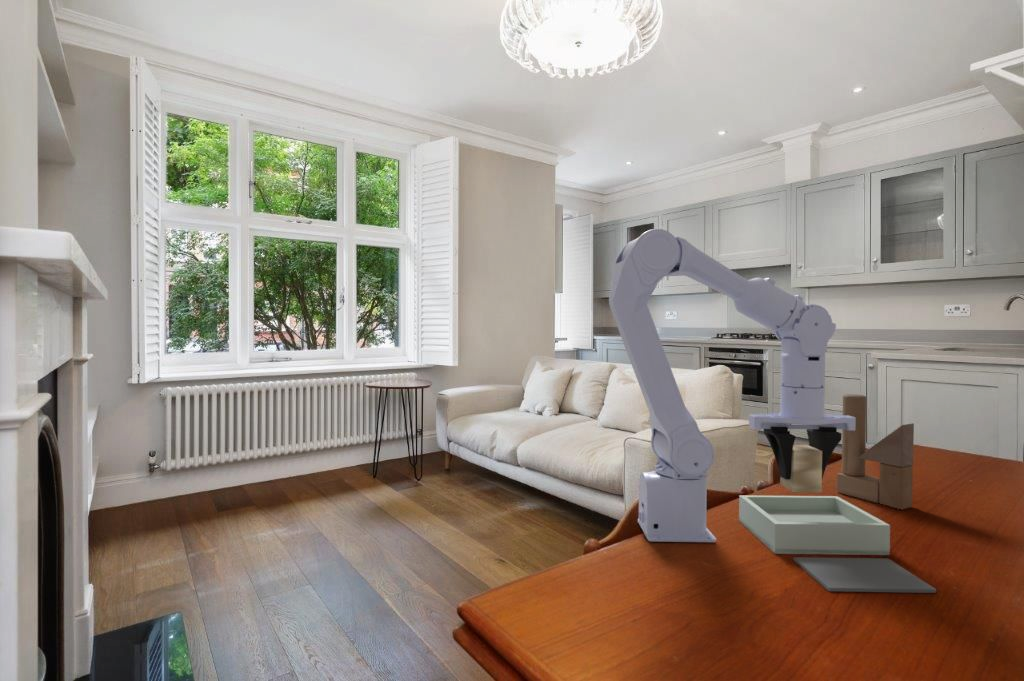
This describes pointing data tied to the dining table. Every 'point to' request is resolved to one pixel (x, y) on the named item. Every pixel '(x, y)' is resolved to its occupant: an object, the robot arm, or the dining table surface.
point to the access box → (813, 525)
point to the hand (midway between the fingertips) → (800, 477)
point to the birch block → (805, 470)
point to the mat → (862, 575)
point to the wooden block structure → (876, 460)
